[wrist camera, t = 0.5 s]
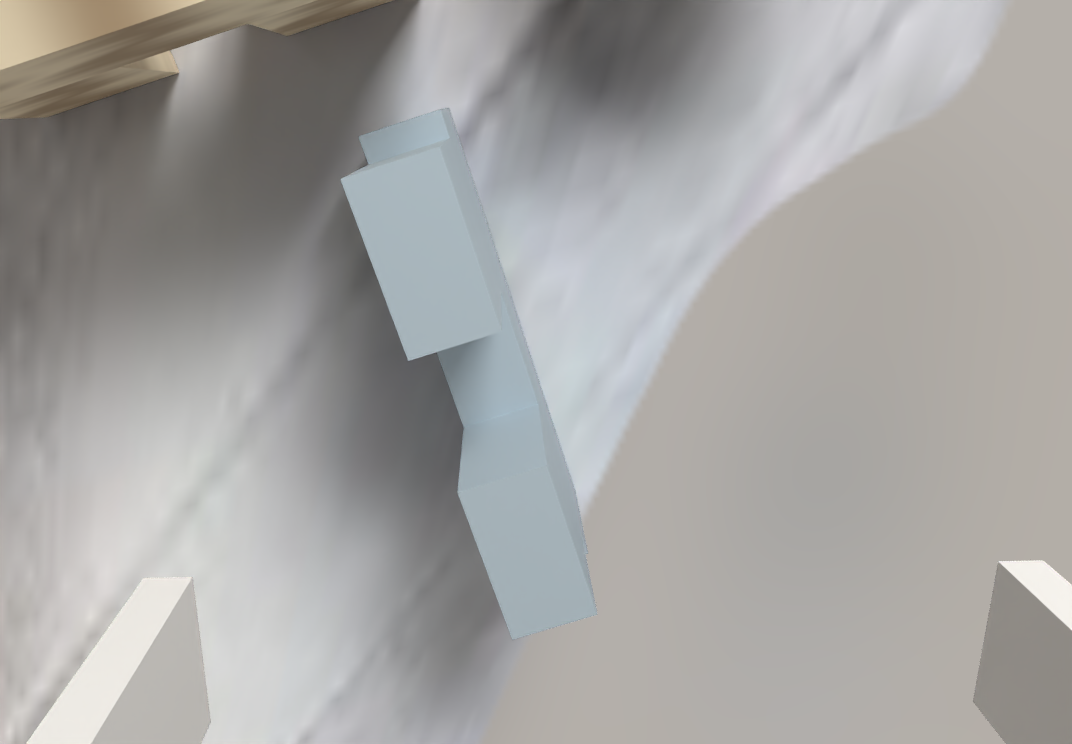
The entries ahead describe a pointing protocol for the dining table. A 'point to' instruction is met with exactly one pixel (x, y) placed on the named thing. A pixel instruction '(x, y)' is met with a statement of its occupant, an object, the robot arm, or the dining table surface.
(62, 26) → the maple board
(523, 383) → the slate board
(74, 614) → the dining table surface
